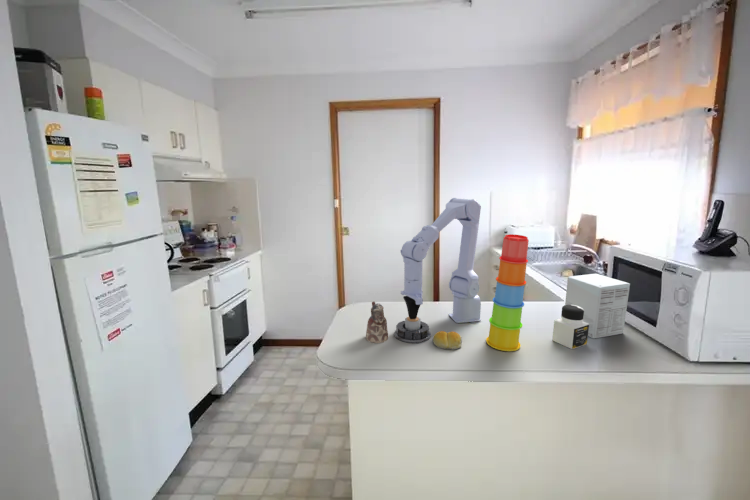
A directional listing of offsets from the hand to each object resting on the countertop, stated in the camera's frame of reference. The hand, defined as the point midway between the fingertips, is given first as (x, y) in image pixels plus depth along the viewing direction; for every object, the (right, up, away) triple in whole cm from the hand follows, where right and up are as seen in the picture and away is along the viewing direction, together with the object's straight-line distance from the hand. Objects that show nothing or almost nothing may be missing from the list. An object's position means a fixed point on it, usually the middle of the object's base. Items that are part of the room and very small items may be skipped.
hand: (412, 318), depth 122 cm
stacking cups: (+28, -7, -6) cm, 29 cm away
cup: (0, -5, +1) cm, 5 cm away
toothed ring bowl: (0, -6, +1) cm, 6 cm away
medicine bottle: (+49, -7, -5) cm, 50 cm away
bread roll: (+11, -8, -5) cm, 14 cm away
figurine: (-12, -7, -1) cm, 14 cm away
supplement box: (+62, -5, +5) cm, 63 cm away
